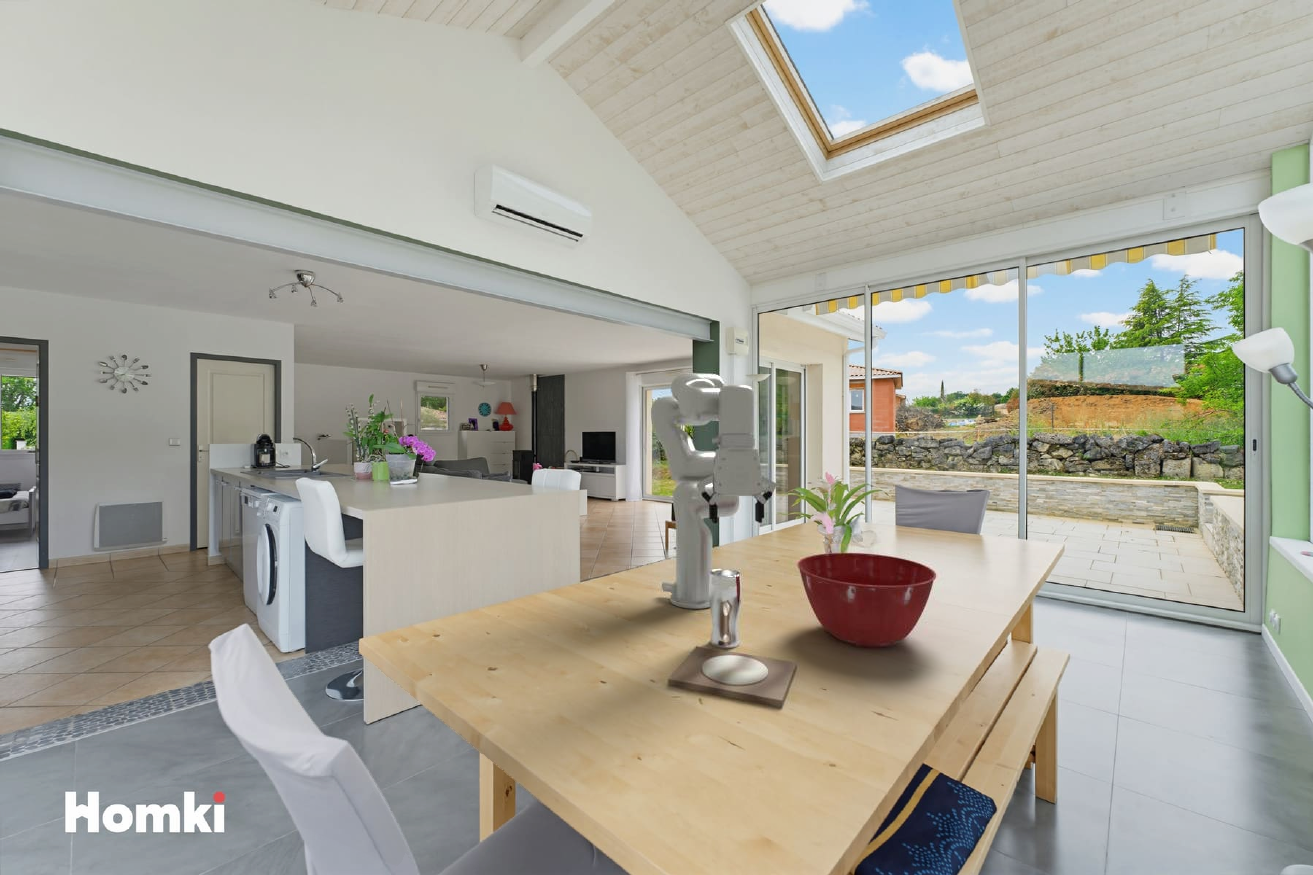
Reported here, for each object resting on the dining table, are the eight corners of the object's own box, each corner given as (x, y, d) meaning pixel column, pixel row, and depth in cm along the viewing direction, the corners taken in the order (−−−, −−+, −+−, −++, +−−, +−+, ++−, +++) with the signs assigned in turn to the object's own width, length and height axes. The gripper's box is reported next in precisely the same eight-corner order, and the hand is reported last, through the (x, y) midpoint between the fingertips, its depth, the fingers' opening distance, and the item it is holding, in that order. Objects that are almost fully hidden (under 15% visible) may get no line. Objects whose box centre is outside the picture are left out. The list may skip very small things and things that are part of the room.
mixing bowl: (861, 673, 103) (862, 590, 103) (771, 623, 129) (771, 557, 129) (966, 649, 115) (967, 575, 114) (863, 608, 141) (864, 548, 140)
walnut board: (668, 685, 98) (668, 677, 98) (696, 651, 113) (696, 644, 113) (782, 707, 90) (782, 698, 90) (796, 668, 105) (796, 660, 105)
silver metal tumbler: (744, 639, 120) (744, 570, 119) (737, 651, 113) (738, 578, 113) (712, 635, 122) (712, 567, 122) (704, 646, 115) (705, 575, 115)
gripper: (699, 443, 115) (699, 525, 115) (780, 442, 116) (781, 524, 116) (694, 443, 122) (694, 520, 122) (770, 442, 124) (771, 519, 123)
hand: (736, 522), depth 119 cm, fingers open, 9 cm apart
